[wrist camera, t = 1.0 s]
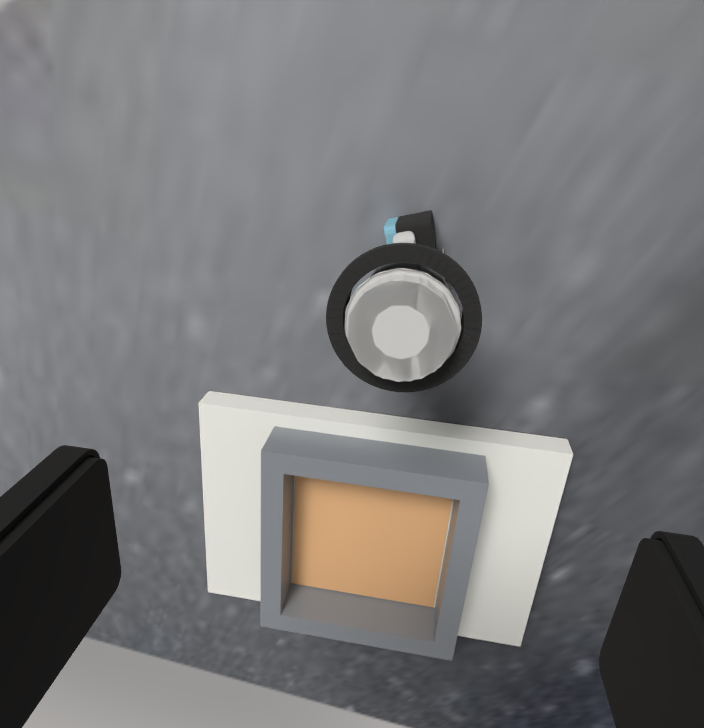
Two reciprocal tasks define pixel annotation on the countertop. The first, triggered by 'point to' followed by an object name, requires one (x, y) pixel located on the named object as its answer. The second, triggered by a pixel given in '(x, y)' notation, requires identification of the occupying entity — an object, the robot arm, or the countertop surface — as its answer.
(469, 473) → the dock board
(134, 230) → the countertop surface
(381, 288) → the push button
